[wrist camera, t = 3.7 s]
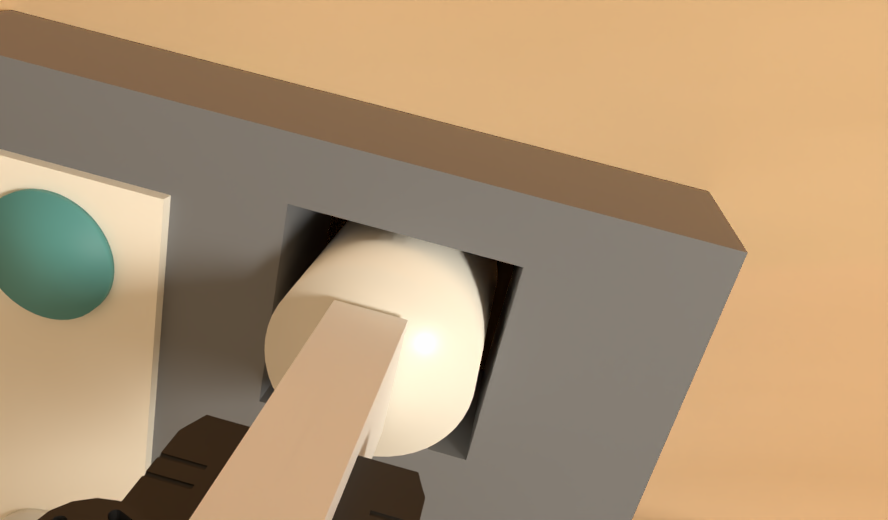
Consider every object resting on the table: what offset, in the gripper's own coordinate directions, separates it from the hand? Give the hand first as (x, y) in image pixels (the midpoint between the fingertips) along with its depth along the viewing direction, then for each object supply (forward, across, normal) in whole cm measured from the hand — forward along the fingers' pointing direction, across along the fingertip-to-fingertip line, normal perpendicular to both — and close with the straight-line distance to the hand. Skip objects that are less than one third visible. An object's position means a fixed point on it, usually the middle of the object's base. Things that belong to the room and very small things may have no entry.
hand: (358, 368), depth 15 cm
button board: (+5, +2, +9) cm, 11 cm away
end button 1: (+5, 0, 0) cm, 5 cm away
